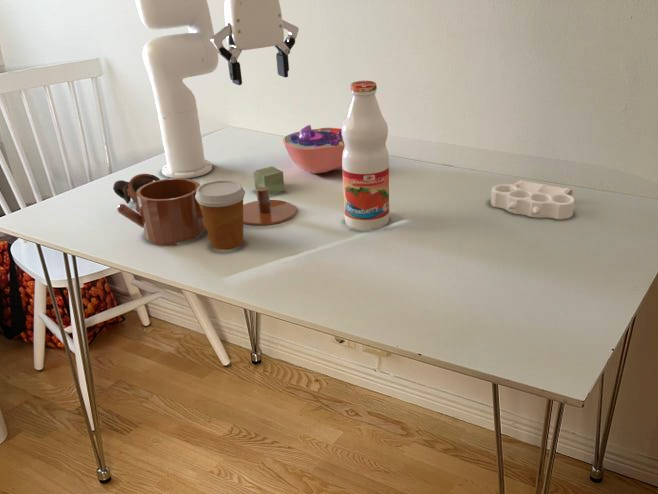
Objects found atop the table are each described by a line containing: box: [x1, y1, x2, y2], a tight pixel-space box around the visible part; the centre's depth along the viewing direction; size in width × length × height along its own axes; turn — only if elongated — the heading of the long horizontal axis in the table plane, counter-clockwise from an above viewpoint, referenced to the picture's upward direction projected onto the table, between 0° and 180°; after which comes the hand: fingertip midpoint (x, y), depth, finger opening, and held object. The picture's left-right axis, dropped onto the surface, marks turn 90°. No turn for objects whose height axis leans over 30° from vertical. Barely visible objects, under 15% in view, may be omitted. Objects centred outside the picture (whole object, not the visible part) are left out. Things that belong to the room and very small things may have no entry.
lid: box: [243, 187, 297, 227], centre depth 152 cm, size 13×13×6 cm
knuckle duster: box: [490, 179, 576, 221], centre depth 152 cm, size 3×18×15 cm
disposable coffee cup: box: [195, 179, 246, 251], centre depth 138 cm, size 10×10×12 cm
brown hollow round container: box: [136, 177, 207, 246], centre depth 145 cm, size 13×13×10 cm
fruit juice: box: [341, 80, 390, 231], centre depth 141 cm, size 9×9×28 cm
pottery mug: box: [112, 173, 161, 213], centre depth 159 cm, size 12×9×8 cm
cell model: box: [282, 124, 345, 175], centre depth 173 cm, size 17×20×11 cm
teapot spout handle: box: [116, 203, 144, 229], centre depth 145 cm, size 21×2×6 cm, turn 105°
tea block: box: [253, 165, 285, 195], centre depth 164 cm, size 5×5×5 cm
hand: (260, 79), depth 135 cm, fingers open, 9 cm apart
